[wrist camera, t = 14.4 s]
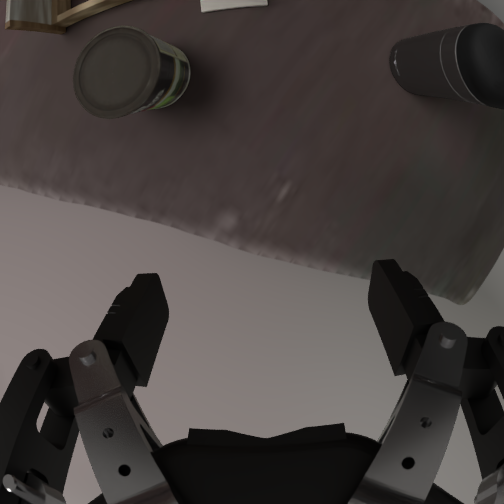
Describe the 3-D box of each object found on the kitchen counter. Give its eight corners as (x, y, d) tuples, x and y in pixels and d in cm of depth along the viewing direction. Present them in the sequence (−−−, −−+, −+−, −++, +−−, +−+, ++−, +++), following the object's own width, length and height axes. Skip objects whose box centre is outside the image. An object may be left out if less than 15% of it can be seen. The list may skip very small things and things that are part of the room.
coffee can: (200, 94, 37) (172, 95, 25) (135, 118, 39) (87, 133, 27) (180, 32, 32) (145, 9, 20) (117, 59, 34) (63, 54, 22)
